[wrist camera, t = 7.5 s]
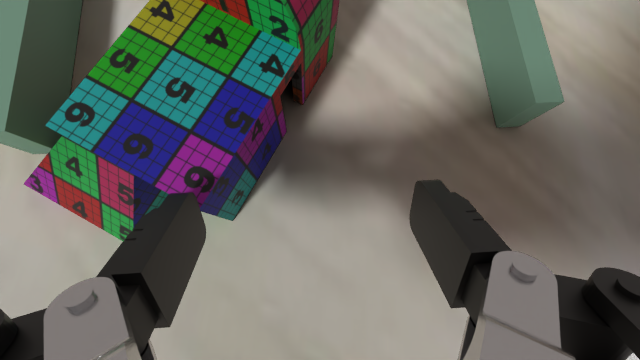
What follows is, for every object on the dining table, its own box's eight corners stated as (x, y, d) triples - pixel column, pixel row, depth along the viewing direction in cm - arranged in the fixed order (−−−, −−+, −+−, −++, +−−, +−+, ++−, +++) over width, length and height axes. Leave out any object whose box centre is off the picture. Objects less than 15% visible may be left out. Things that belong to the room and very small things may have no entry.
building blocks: (195, -9, 18) (103, -216, 10) (331, 58, 18) (353, -105, 9) (38, 187, 15) (-285, 119, 7) (199, 278, 14) (53, 325, 6)
